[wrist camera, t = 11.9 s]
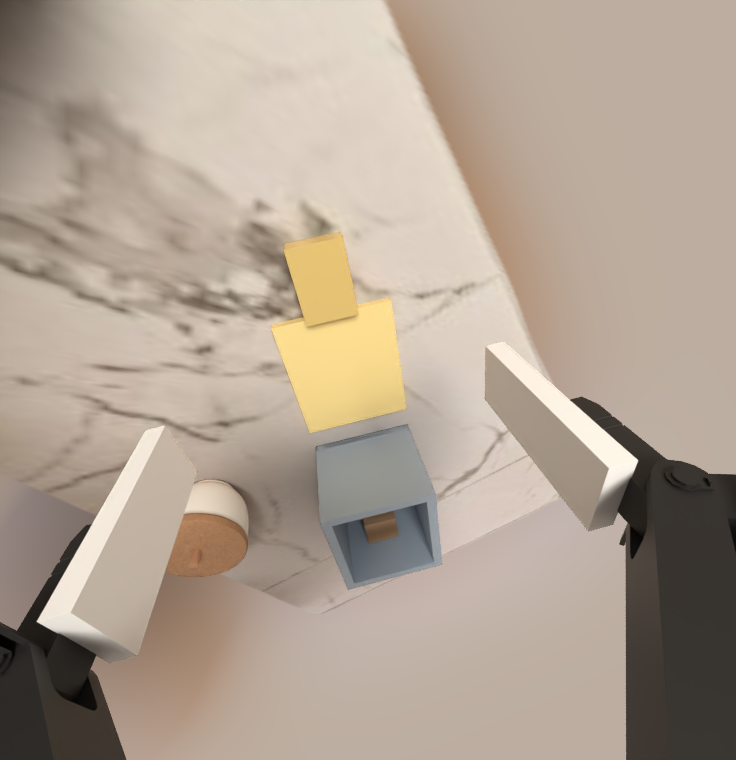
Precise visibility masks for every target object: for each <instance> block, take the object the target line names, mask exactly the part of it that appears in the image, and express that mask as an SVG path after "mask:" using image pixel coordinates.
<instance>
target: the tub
mask: <svg viewBox="0 0 736 760" xmlns="http://www.w3.org/2000/svg"><path fill="white" fill-rule="evenodd" d="M316 459H317V478H318V498H319V517H320V525H321V527H322V529H323V532H324V534H325V537H326V539H327V541H328V544H329V546H330V548H331V551H332V553H333V555H334V558H335V560H336V562H337V565H338V567H339V569H340V572H341V574H342V577H343V579H344V581H345V584H346V586H347V588H348V590H349V589H353V588H356V587H360V586H364V585H368V584H371V583H375V582H379V581H383V580H387V579H390V578H394V577H398V576H402V575H405V574H409V573H413V572H417V571H421V570H424V569H428V568H432V567H436V566H439V565H442V557H441V546H440V535H439V525H438V514H437V503H436V493H435V491H434V488H433V486H432V484H431V481H430V479H429V476H428V474H427V471H426V469H425V466H424V464H423V461H422V459H421V457H420V454H419V452H418V449H417V447H416V444H415V442H414V439H413V437H412V434H411V432H410V430H409V427H408V425H402V426H398V427H394V428H390V429H386V430H382V431H378V432H374V433H370V434H366V435H362V436H358V437H353V438H349V439H345V440H341V441H337V442H333V443H329V444H325V445H321V446H317V447H316ZM390 511H394V514H395V518H396V524H397V530H398V537H394V538H390V539H386V540H382V541H378V542H374V543H370V544H369V542H368V538H367V534H366V530H365V526H364V521H363V518H366V517H370V516H374V515H378V514H382V513H386V512H390Z"/></svg>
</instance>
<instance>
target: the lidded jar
mask: <svg viewBox="0 0 736 760" xmlns="http://www.w3.org/2000/svg"><path fill="white" fill-rule="evenodd" d="M248 531H249V516H248V510H247V507H246V504H245V502H244V500H243V498H242V497H241V495H240V494H239V493H238V492H237V491H236V490H235V489H234V488H233V487H232V486H231V485H229V484H228V483H226V482H223V481H220V480H214V479H208V480H201V481H198V482H196V483H194V484H193V488H192V491H191V494H190V497H189V500H188V503H187V506H186V509H185V512H184V515H183V518H182V521H181V524H180V527H179V530H178V533H177V536H176V539H175V543H174V546H173V549H172V552H171V555H170V558H169V561H168V564H167V567H166V570H165V572H167V573H170V574H174V575H179V576H186V577H203V576H211V575H215V574H219V573H222V572H225V571H227V570H229V569H231V568H233V567H235V566H236V565H237V564H238V563H239V562H240V561H241V560H242V559H243V558H244V556H245V555H246V552H247V547H248Z"/></svg>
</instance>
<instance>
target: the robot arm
mask: <svg viewBox="0 0 736 760" xmlns="http://www.w3.org/2000/svg"><path fill="white" fill-rule="evenodd" d="M485 400H486V401H487V402H488V404H489V405H490V406H491V408H492V409H493V410H494V411H495V413H496V414H497V415H498V417H499V418H500V419H501V420H502V422H503V423H504V424H505V425H506V427H507V428H508V429H509V431H510V432H511V433H512V434H513V436H514V437H515V438H516V440H517V441H518V442H519V443H520V445H521V446H522V447H523V449H524V450H525V451H526V452H527V454H528V455H529V456H530V457H531V459H532V460H533V461H534V463H535V464H536V465H537V466H538V468H539V469H540V470H541V472H542V473H543V474H544V475H545V477H546V478H547V479H548V481H549V482H550V483H551V484H552V486H553V487H554V488H555V489H556V491H557V492H558V493H559V495H560V496H561V497H562V498H563V499H564V501H565V502H566V504H567V505H568V506H569V507H570V509H571V510H572V511H573V513H574V514H575V515H576V516H577V518H578V519H579V520H580V521H581V523H582V524H583V525H584V527H585V528H586V529H587V530H588V531H592V530H595V529H598V528H602V527H606V526H610V525H613V523H614V521H615V518H616V516H617V513H620V515H621V516H622V517H623V518H624V519H625V520H626V521H627V522H628V524H627V526H626V528H625V531H624V533H623V535H622V537H621V540H620V545H623V546H624V545H625V542H626V760H736V475H731V474H708V473H707V472H705V471H704V470H702V469H700V468H698V467H696V466H694V465H691V464H688V463H685V462H682V461H674V460H667V459H666V458H664V457H663V456H662V455H660V454H659V453H658V452H657V451H655V450H654V449H653V448H652V447H651V446H649V445H648V444H647V443H646V442H645V441H643V440H642V439H641V438H639V437H638V436H637V435H636V434H634V433H633V432H632V431H631V430H630V429H628V428H627V427H626V426H625V425H624V426H623V425H622V423H621V422H620V421H619V420H617V419H616V418H615V417H612V416H611V414H610V413H609V412H607V411H606V410H605V409H604V408H603V407H601V406H600V405H599V404H597V403H595V402H592V401H590V400H588V399H586V398H583V397H579V398H575V399H571V400H569V399H568V398H567V397H566V396H565V395H564V394H562V393H561V392H560V391H559V390H558V389H557V388H556V387H554V386H553V385H552V384H551V383H550V382H549V381H548V380H547V379H545V378H544V377H543V376H542V375H541V374H540V373H539V372H537V371H536V370H535V369H534V368H533V367H532V366H531V365H529V364H528V363H527V362H526V361H525V360H524V359H523V358H522V357H520V356H519V355H518V354H517V353H516V352H515V351H514V350H512V349H511V348H510V347H509V346H508V345H507V344H506V343H505V342H500V343H496V344H492V345H488V346H486V355H485ZM196 475H197V470H196V469H195V468H194V466H193V465H192V463H191V462H190V460H189V459H188V458H187V456H186V455H185V453H184V452H183V450H182V449H181V448H180V446H179V445H178V443H177V442H176V440H175V439H174V437H173V436H172V435H171V433H170V432H169V430H168V429H167V427H166V426H162V427H158V428H154V429H150V430H146V431H145V433H144V434H143V436H142V438H141V440H140V441H139V443H138V445H137V447H136V448H135V450H134V452H133V454H132V455H131V457H130V459H129V461H128V462H127V464H126V466H125V468H124V469H123V471H122V473H121V475H120V476H119V478H118V480H117V482H116V484H115V485H114V487H113V489H112V491H111V492H110V494H109V496H108V498H107V499H106V501H105V503H104V505H103V506H102V508H101V510H100V512H99V513H98V515H97V517H96V519H95V520H94V522H93V524H90V525H86V526H85V527H84V528H83V529H82V530H81V531H80V532H79V533H78V534H77V536H76V537H75V538H74V539H73V540H72V541H71V542H70V544H69V546H68V547H67V549H66V550H65V552H64V554H63V555H62V557H61V559H60V563H58V564H57V565H56V567H55V569H54V570H53V572H52V576H51V577H50V578H49V579H48V580H47V582H46V584H45V585H44V587H43V589H42V590H41V592H40V594H39V595H38V597H37V598H36V600H35V602H34V604H33V605H32V607H31V609H30V610H29V612H28V613H27V615H26V617H25V618H24V620H23V622H22V623H21V625H20V627H19V629H18V630H17V631H16V630H14V629H12V628H10V627H8V626H6V625H5V624H2V623H1V622H0V760H126V757H125V754H124V751H123V749H122V746H121V743H120V740H119V737H118V734H117V732H116V728H115V726H114V723H113V720H112V717H111V714H110V711H109V708H108V706H107V703H106V700H105V697H104V694H103V691H102V688H101V685H100V682H99V680H98V677H97V675H96V674H95V673H94V672H93V671H92V670H90V668H91V666H92V664H93V662H94V659H95V657H96V656H98V657H99V658H101V659H103V660H105V661H107V662H108V663H112V662H116V661H120V660H123V659H127V658H130V657H134V656H137V655H138V652H139V650H140V646H141V643H142V640H143V637H144V634H145V631H146V628H147V625H148V622H149V619H150V616H151V613H152V609H153V607H154V604H155V600H156V598H157V595H158V591H159V588H160V585H161V582H162V579H163V576H164V573H165V570H166V567H167V564H168V561H169V558H170V555H171V552H172V549H173V546H174V543H175V539H176V536H177V533H178V530H179V527H180V524H181V521H182V518H183V515H184V512H185V509H186V506H187V503H188V500H189V497H190V494H191V491H192V488H193V484H194V481H195V478H196Z"/></svg>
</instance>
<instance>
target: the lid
mask: <svg viewBox="0 0 736 760" xmlns="http://www.w3.org/2000/svg"><path fill="white" fill-rule="evenodd" d="M284 253H285V257H286V260H287V263H288V266H289V270H290V273H291V276H292V280H293V283H294V286H295V290H296V293H297V296H298V299H299V303H300V306H301V309H302V313H303V316H304V317H303V318H298V319H294V320H290V321H286V322H281V323H277V324H273V325H272V327H271V330H272V332H273V335H274V338H275V340H276V343H277V346H278V348H279V351H280V354H281V357H282V359H283V362H284V365H285V367H286V370H287V373H288V375H289V378H290V381H291V384H292V386H293V389H294V392H295V394H296V397H297V400H298V402H299V405H300V408H301V411H302V413H303V416H304V419H305V421H306V424H307V427H308V429H309V432H310V433H312V432H317V431H321V430H325V429H329V428H333V427H337V426H341V425H345V424H349V423H353V422H357V421H361V420H365V419H369V418H373V417H377V416H381V415H385V414H389V413H393V412H397V411H401V410H405V409H406V402H405V395H404V388H403V381H402V374H401V367H400V360H399V353H398V346H397V339H396V332H395V325H394V318H393V311H392V303H391V300H390V298H385V299H380V300H376V301H372V302H367V303H363V304H359V305H357V304H356V299H355V294H354V289H353V284H352V279H351V274H350V269H349V264H348V260H347V255H346V250H345V245H344V240H343V236H342V234H341V233H340V232H336V233H331V234H327V235H322V236H318V237H313V238H309V239H304V240H300V241H295V242H291V243H286V244H285V245H284Z"/></svg>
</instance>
